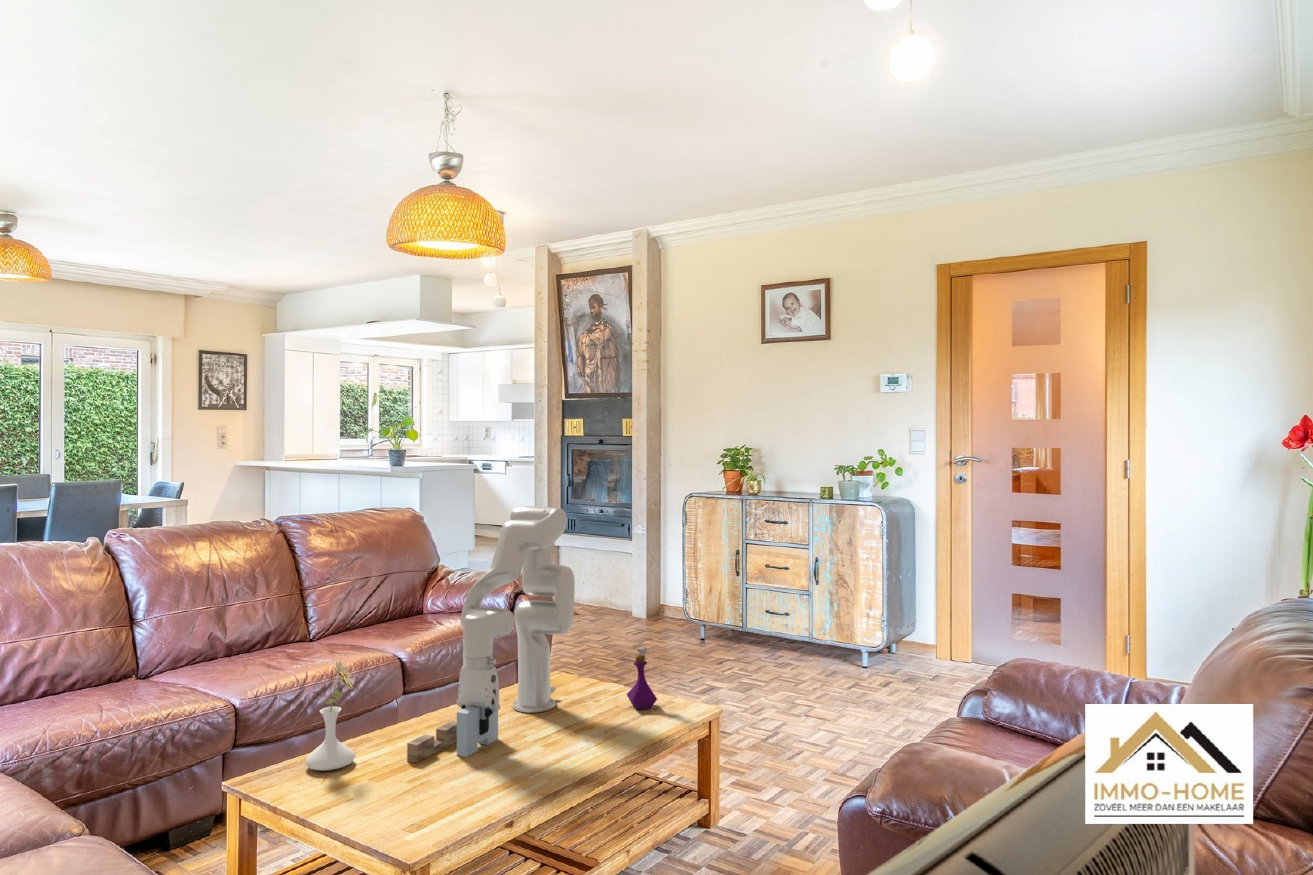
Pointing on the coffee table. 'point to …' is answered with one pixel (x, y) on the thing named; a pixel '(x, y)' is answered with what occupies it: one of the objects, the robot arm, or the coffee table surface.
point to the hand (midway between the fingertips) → (478, 731)
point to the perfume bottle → (641, 686)
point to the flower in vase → (332, 732)
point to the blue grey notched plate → (474, 730)
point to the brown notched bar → (432, 742)
